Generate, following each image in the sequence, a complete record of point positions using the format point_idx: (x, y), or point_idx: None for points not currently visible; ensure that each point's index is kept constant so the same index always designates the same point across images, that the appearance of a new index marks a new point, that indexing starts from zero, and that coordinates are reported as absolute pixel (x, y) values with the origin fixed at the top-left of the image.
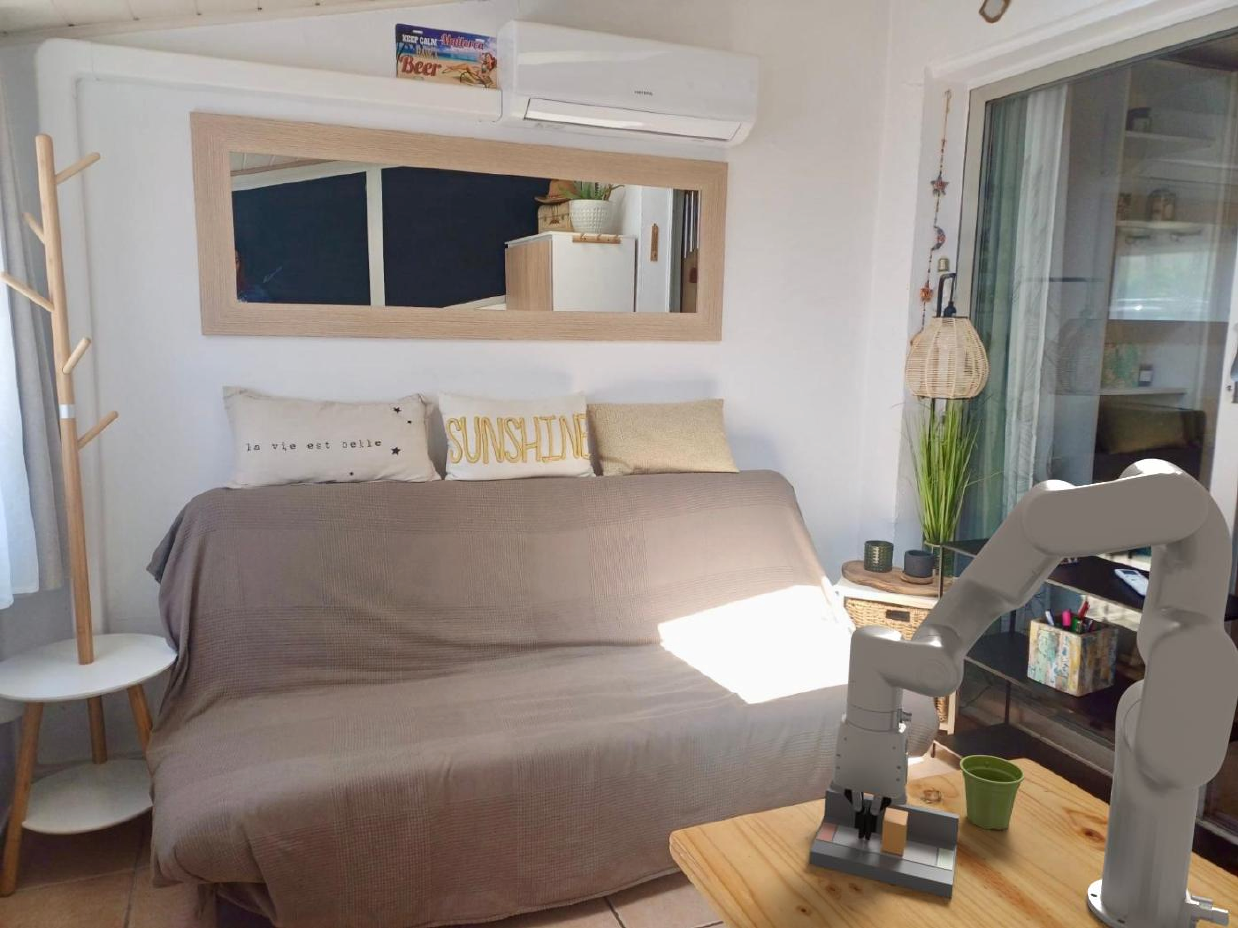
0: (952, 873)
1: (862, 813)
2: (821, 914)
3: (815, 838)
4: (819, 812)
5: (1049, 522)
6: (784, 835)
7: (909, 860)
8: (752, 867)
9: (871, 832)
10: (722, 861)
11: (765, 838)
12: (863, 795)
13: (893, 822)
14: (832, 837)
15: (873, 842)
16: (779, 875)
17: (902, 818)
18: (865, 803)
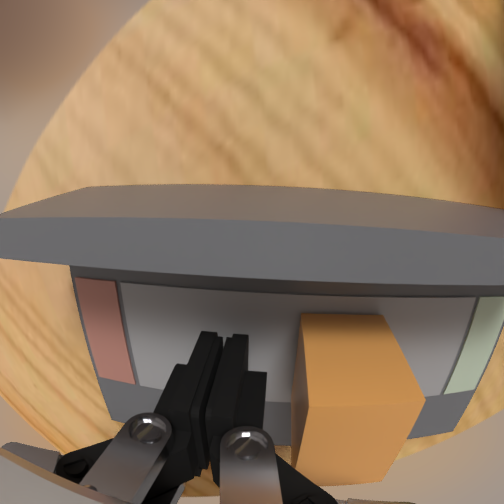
0: (470, 396)
1: (195, 474)
2: (201, 492)
3: (95, 370)
4: (63, 123)
5: None
6: (35, 298)
7: None
8: (57, 414)
9: (247, 361)
10: (22, 402)
11: (19, 322)
12: (159, 471)
13: (334, 484)
14: (130, 356)
15: (261, 355)
16: (99, 430)
17: (381, 452)
18: (187, 454)
